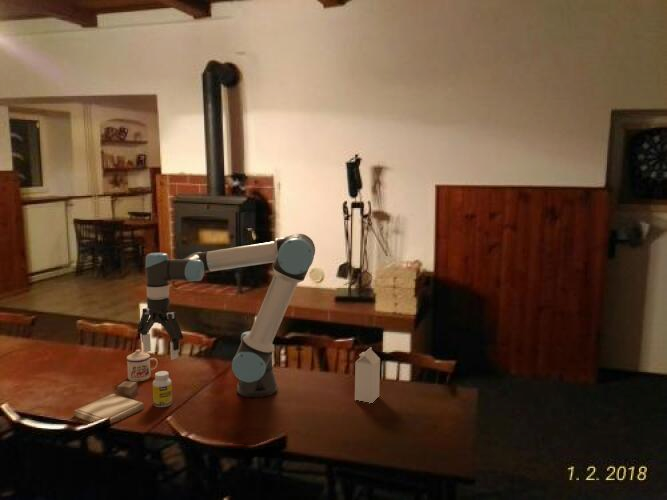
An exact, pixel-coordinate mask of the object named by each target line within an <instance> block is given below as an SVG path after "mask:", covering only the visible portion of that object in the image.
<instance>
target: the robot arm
mask: <svg viewBox="0 0 667 500" xmlns="http://www.w3.org/2000/svg"><path fill="white" fill-rule="evenodd" d="M315 254H316V246H315V243H314V241H313V239H311V238H310V237H309V236H308V235H306V234H303V233H295V234H291V235H288V236H287V235H286V236H281V237H277V238H275V240H274V241H269V242H263V243H255V244H250V245H249V244H248V245H241V246H236V247H230V248H222V249H216V250H211V251H209V250H208V251H203V252H201V251H196V252H192V253H191V254H189V255H188V256H186V257H185V258H180V259H179V258H178V259H174V258H173V259H172V258H169V254H168V253H166V252H151V253H148V254H146V256H145V267H144V268H145V280H146V283H145V284H146V285H145V286H146V297H147V298H146V303H147V304H146V305H147V307H144V308H142V311H141V312H142V314H141V318H140V320H139V324H138V326H137V329H136V331H137V332H138V333H140V334H141V342H142V349H143V351H142V352H143V353H149V352H151V351H152V347H151V346H152V345H151V333H150V331H151V329H152V328H153V326H154V324H158V325H161V326H162V327H164V330H165V332H166V333H167V335H168V336H169V338H170V344H169V345H170V349H169V350H170V360H171V361H172V360H173V361H174V360H176V359H178V358H179V350H180V349H179V348H180V345H179V343H180V341H181V340H183V339H184V335H183V333H182V330H181V328H180V325H179V323H178V320H177V316H176V315H177V314H176V312H175V311H173V312H169V308H170V306H171V303H170V302H171V301H170V296H169V295H170V282H171V281H172V282H174V281H176V282H177V281H179V282H200V281H202V280H203V278H204V274H206V273H211V272H217V271H224V270H230V269H237V268H243V267H244V268H245V267H250V266H257V265H264V264H270V263H274V264H273V266H272V269H273V272H274V275H273V277H272V280H271V282H270V284H269V286H268V289H267V292H266V294H265V296H264V299H263V301H262V303H261V305H260V309H259V311H258V312H257V316H256V318H255V319H254V320H255V321H254V322H253V324H252V327H251V330H248V331H244V332H242V333H241V335H240V344H239V346H238V349H237V351H236V353H235V355H234V357H233V359H232V360H231V361H232V363H231V370H232V372H233V375H234V376H235V377H236V378H237V379H239V380H238V383H237V393H238V394H239V395H240V396H242V397H245V396H246V397H245V398H249V397H261V398H264V397H263V396H266V397H268V396H267V395H270V394H272V393H274V392H275V391H276V390H277V391H278V381H277V380H276V376H275V373H274V370H273V352H274V351H275V348H274V347H275V346H274V344H273V342H274V339H275V337H276V335H277V333H278V331H279V328H280V326H281V323H282V321H283V318H284V317H285V314H286V312H287V310H288V309H287V308H288V307H289V304H290V303H291V300H292V298H293V296H294V293H295V291H296V290H297V289H296V288H297V286H298V284H299V283H301V282H304V280H305V278H306V277H307V275H308V271H309V270H310V267H311V266H312V265H313V262H314V258H315V256H316V255H315ZM277 391H276V392H277ZM276 392H275V393H276ZM275 393H274V394H275ZM272 395H273V394H272ZM270 396H271V395H270Z"/></svg>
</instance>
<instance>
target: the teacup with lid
mask: <svg viewBox="0 0 667 500" xmlns="http://www.w3.org/2000/svg"><path fill="white" fill-rule="evenodd" d="M125 360H126V363H127V365H126V366H127V379H128V381H130V382H137V383H138V382H143V381H147V380H148V379H150V378H151V371H154V370H155V369H156V368H157V366H158V364H159V362H158V359H157V358H155V357H151V355H150V354H149V352H146V353H143V351H142V350H141V349H135V352H133V353H131V354H128V355H127V356H126V359H125ZM151 361H155V365H154V366H153V367H151Z"/></svg>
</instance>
